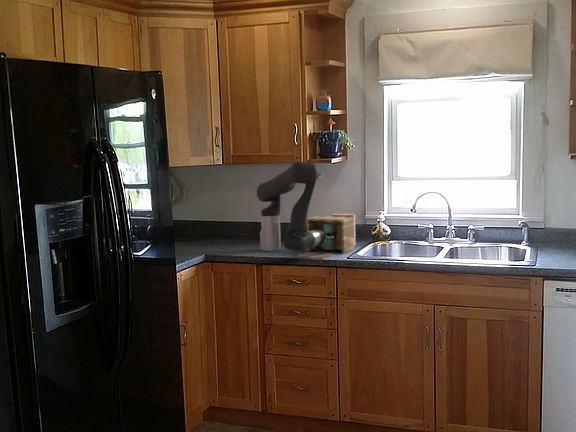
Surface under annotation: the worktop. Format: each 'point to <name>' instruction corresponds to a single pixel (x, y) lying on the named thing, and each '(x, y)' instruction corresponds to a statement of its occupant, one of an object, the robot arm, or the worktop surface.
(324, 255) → the trivet
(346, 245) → the cubby
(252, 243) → the worktop surface
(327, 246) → the tin
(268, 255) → the worktop surface
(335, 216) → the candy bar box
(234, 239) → the worktop surface
